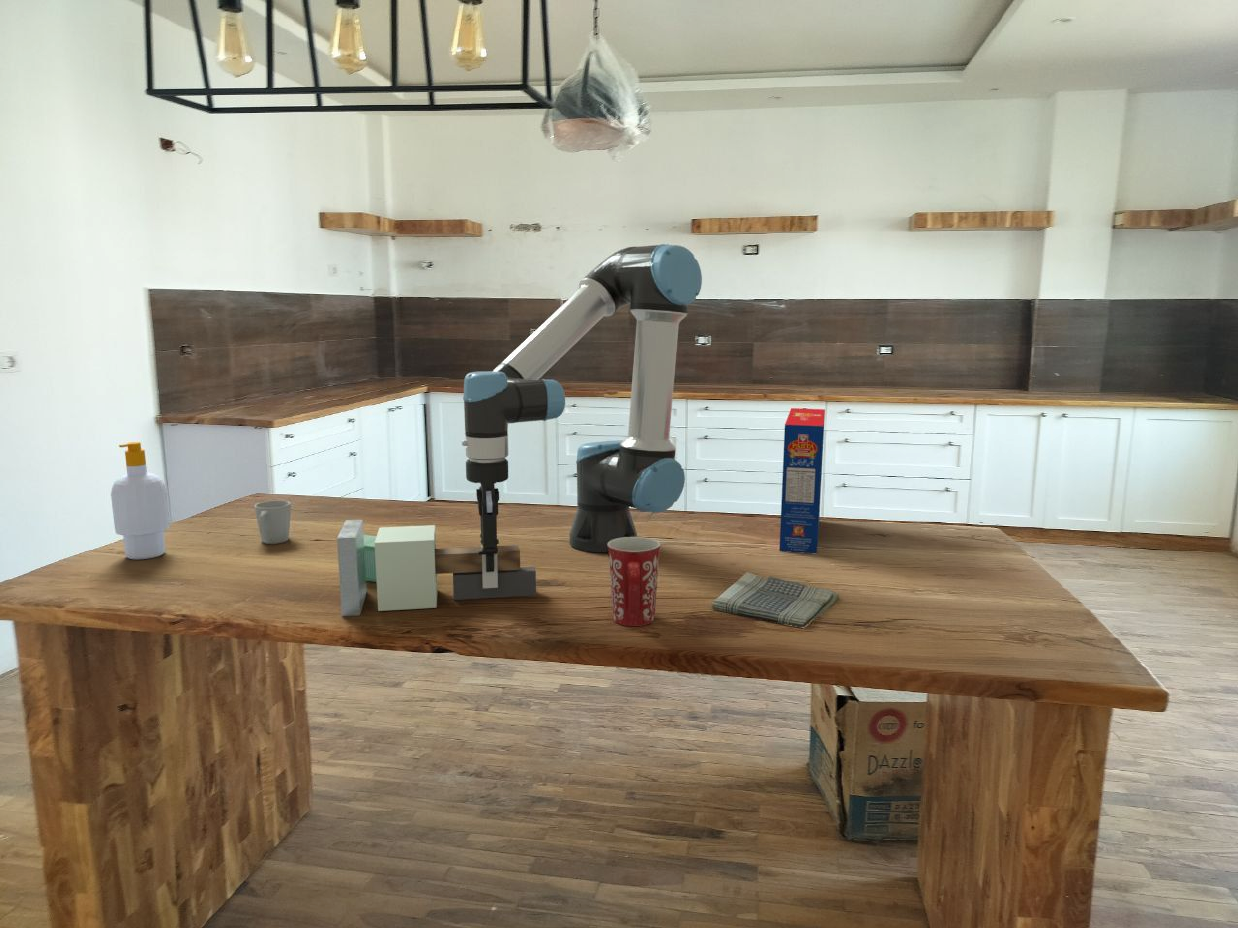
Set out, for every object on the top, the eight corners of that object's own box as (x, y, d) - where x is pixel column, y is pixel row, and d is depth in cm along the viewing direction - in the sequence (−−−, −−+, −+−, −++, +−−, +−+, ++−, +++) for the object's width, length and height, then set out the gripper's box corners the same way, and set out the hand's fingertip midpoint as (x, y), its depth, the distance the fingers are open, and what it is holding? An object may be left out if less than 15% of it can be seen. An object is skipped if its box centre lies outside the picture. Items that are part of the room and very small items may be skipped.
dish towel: (805, 633, 142) (806, 615, 142) (709, 612, 152) (709, 594, 151) (841, 600, 158) (842, 583, 157) (751, 582, 167) (752, 567, 167)
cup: (299, 536, 196) (296, 500, 194) (280, 549, 186) (277, 511, 184) (266, 535, 196) (263, 499, 195) (245, 548, 186) (242, 510, 185)
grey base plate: (366, 591, 159) (362, 519, 157) (359, 615, 148) (355, 537, 145) (349, 592, 159) (345, 520, 156) (341, 616, 147) (336, 538, 145)
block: (437, 588, 161) (435, 525, 158) (436, 607, 151) (433, 540, 149) (382, 591, 159) (379, 527, 157) (378, 610, 149) (374, 542, 147)
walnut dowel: (518, 563, 159) (518, 545, 159) (520, 569, 156) (519, 550, 155) (431, 568, 156) (430, 549, 156) (430, 574, 153) (430, 554, 152)
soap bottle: (106, 558, 178) (93, 445, 174) (149, 545, 188) (138, 437, 183) (141, 564, 175) (129, 448, 170) (184, 551, 184) (173, 440, 179)
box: (402, 586, 163) (400, 548, 162) (340, 579, 167) (338, 542, 165) (421, 574, 170) (419, 538, 169) (361, 568, 174) (360, 533, 172)
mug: (608, 608, 152) (608, 535, 149) (659, 609, 151) (660, 536, 149) (603, 636, 139) (603, 557, 137) (659, 637, 139) (660, 558, 136)
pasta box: (786, 519, 213) (791, 408, 208) (819, 521, 211) (825, 409, 206) (779, 551, 186) (784, 424, 181) (816, 553, 185) (823, 426, 179)
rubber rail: (534, 590, 161) (534, 566, 160) (536, 595, 158) (535, 570, 157) (453, 595, 158) (452, 571, 157) (453, 600, 155) (452, 575, 155)
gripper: (464, 451, 160) (467, 570, 165) (466, 468, 144) (470, 600, 148) (505, 449, 161) (507, 568, 166) (511, 466, 145) (513, 597, 150)
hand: (489, 583), depth 157 cm, fingers closed on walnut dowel, 4 cm apart
